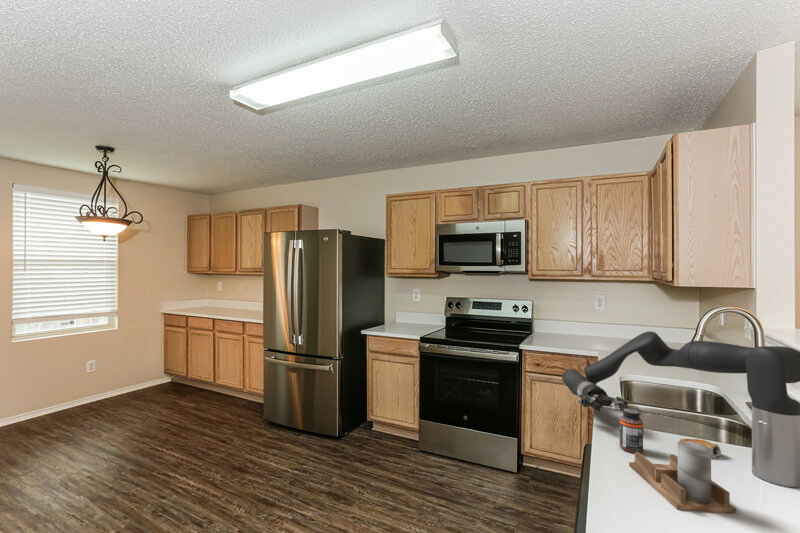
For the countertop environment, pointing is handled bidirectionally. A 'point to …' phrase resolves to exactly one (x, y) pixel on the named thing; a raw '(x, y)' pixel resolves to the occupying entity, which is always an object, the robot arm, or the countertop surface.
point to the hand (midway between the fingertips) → (612, 409)
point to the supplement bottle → (631, 431)
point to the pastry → (714, 447)
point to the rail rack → (686, 479)
